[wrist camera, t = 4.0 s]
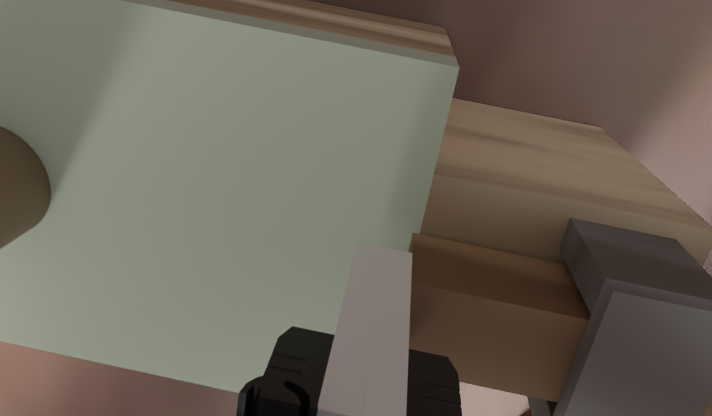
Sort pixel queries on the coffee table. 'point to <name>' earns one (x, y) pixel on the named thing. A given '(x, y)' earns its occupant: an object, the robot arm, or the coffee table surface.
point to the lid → (199, 178)
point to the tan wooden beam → (497, 316)
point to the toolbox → (563, 229)
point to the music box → (527, 413)
